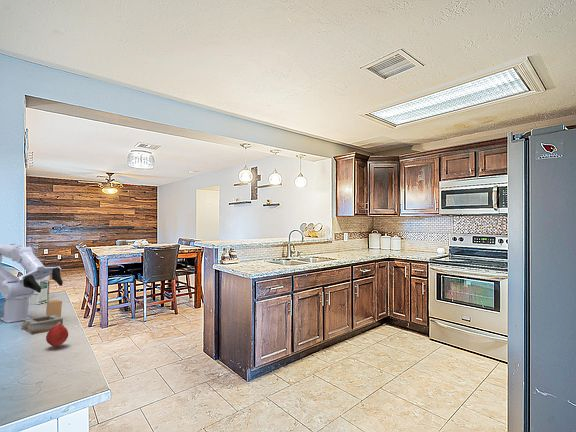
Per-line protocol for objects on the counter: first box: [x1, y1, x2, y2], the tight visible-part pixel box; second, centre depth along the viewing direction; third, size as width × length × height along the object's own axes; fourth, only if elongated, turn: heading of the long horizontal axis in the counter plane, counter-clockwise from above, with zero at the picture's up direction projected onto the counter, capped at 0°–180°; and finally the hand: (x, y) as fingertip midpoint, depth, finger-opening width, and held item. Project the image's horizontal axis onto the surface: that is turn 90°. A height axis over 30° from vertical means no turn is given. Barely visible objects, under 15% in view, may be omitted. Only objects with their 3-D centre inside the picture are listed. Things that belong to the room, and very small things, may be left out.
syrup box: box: [29, 274, 51, 305], centre depth 162 cm, size 6×6×14 cm
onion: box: [45, 322, 69, 348], centre depth 103 cm, size 6×6×8 cm
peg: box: [45, 299, 63, 318], centre depth 133 cm, size 4×4×8 cm
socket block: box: [21, 315, 65, 335], centre depth 122 cm, size 11×10×4 cm
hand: (51, 287), depth 126 cm, fingers open, 7 cm apart
